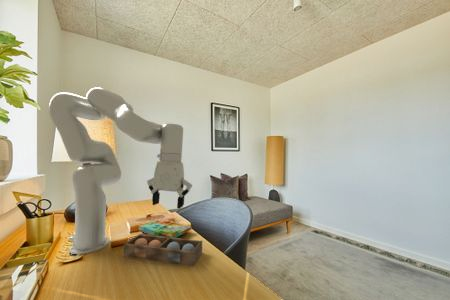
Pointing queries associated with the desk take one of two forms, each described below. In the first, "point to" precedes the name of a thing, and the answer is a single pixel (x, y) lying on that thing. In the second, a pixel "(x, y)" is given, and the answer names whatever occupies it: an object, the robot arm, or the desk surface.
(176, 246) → the slate ball
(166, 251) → the divided wooden box
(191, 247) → the blue-grey ball
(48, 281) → the desk surface
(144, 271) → the desk surface
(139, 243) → the tan rounded piece
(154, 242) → the terracotta ball
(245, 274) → the desk surface
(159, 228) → the puzzle game
